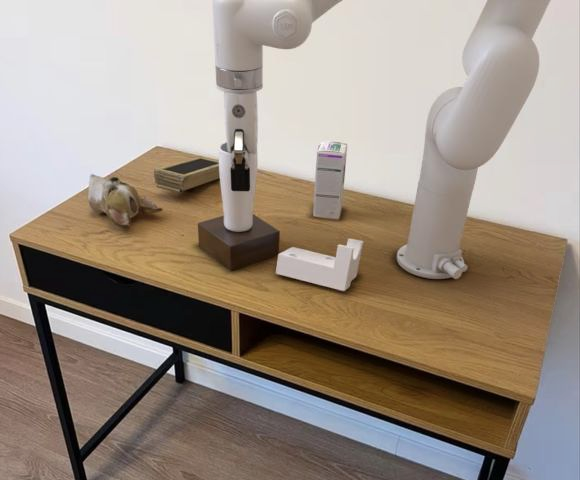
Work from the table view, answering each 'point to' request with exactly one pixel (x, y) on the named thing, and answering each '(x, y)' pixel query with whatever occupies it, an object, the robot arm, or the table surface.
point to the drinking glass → (237, 192)
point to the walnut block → (238, 242)
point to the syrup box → (329, 179)
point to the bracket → (322, 265)
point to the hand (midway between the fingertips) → (241, 179)
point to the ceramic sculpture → (117, 200)
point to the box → (186, 174)
